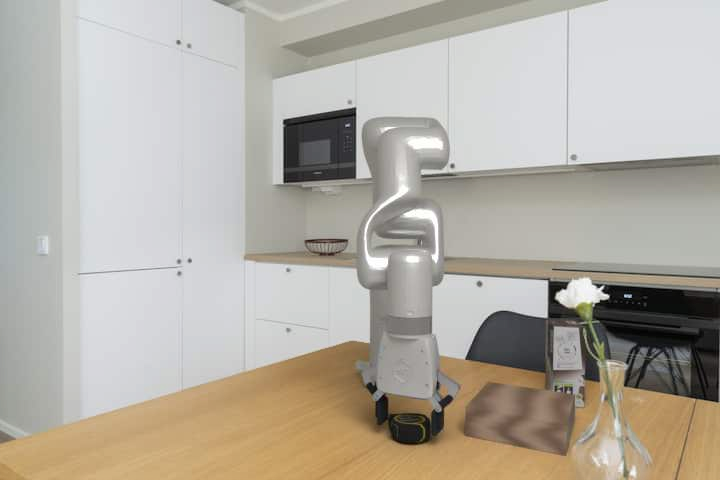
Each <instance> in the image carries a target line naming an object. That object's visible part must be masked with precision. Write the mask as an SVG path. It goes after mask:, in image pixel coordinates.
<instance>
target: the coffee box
mask: <svg viewBox="0 0 720 480" xmlns="http://www.w3.org/2000/svg"><path fill="white" fill-rule="evenodd" d="M578 323H580V321H578V320H577V319H567V318H566V319H563V318H560V319H559V318H558V319H550V318H548V319H545V385H544V386H545V389H544V390H549V391H555V392H562V393H569V394H575V408H585V391H586V388H585V387H586V386H585V385H586V352H587V343H585V339H584V336H583V328H585V330H586V331H587V326H585V325H583V324H582V325H580V324H578Z"/></svg>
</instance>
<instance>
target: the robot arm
mask: <svg viewBox="0 0 720 480" xmlns="http://www.w3.org/2000/svg"><path fill="white" fill-rule="evenodd" d="M361 145H362V151H363V155H364V159H365V161H366V164H367V167H368V170H369V172H370V176H371V182H372V184H371V185H372V189H371V191H372V206H371V207H370V208H369V210H368V211H367V212H366V214H365V215H364V216H363V218H362V219H361V221H360V224H359V226H358V229H357V234H356V277H357V280H358V283H359V284H360V286H361V287H362V288H364V289H366V290H369V361H367V362H366V361H364V360H356V362H355V371H356V372H361V376H362V384H363V385H364V387H366V389H367V391H368V392H369V393H370V394H371V396H372V399H373V401H374V403H375V405H374V408H375V409H374V411H375V412H374V413H375V414H374V416H375V418H376V424H377V425H378V426H382V425H383V424H384V423H385V422H388V418H389V398H388V396H386V395H390V396H391V395H392V396H397V397H403V398H409V399H414V400H421V401H425V400H428V402H429V404H430V405H431V406H432V407H433V410H431V413H430V414H431V415H430V422H431V433H430V436H432V437H437V436H438V435H439V433H440V432H441V431H443V430H444V426H445V408H447V406H448V405H450V404H451V403H452V402H454V401H455V399H456V396H457V395H458V393H459V391H460V390H461V387H462V385H461V384H460V383H458V382H457V381H456V380H454V379H453V378H452V377H450V376H449V375H447V374H445V373H444V372H443V371H442V370H441V361H440V360H441V359H440V352H439V346H438V340H437V337H436V336H437V335H436V334H435V333H433V287H436V286H439V285H441V283H442V282H443V279H444V276H445V241H444V240H445V239H444V216H443V210H442V207H441V204H440V203H439V202H438V201H437V200H436V199H434V198H431V197H424V195H423V184H422V170H426V171H428V170H431V171H433V170H434V171H438V170H439V171H440V170H443V169H444V168H446V167H447V165H448V163H449V160H450V155H451V146H450V140H449V136H448V134H447V132H446V129H445V128H444V126H443V125H442V124H441V122H440V121H439V120H438V119H436V118H434V117H423V116H422V117H421V116H419V117H418V116H416V117H415V116H413V117H412V116H380V117H379V116H378V117H373V118H370V119H368V120H366V121H364V123H363V126H362V128H361ZM374 233H375V235H376V236H377V237H379V238H382V239H390V240H420V241H421V243H422V244H381V245H378V246H375V247H374V246H373V247H372V236H373V234H374ZM441 385H442V386H445V388H447V390H448V392H447V394H446V396H443V395H442V394H441V392H440V391H441Z"/></svg>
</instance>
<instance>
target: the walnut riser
mask: <svg viewBox="0 0 720 480" xmlns="http://www.w3.org/2000/svg"><path fill="white" fill-rule="evenodd" d="M464 421H465V429H464V430H465V431H464V432H465V433H464V435H465V437H469V438H470V437H471V438H476V439H481V440H485V441H490V442H495V443H500V444H505V445H510V446H515V447H519V448H525V449H530V450H536V451H540V452H544V453H551V454H554V455H555V454H556V455H559V456H564V457H566V456H567V453H568V449H569V445H570V441H571V437H572V433H573V429H574V427H575V426H574V425H575V422H576V407H575V394H569V393H562V392H555V391H549V390H545V389H542V388H541V389H540V388H535V387H534V388H533V387H526V386H519V385H515V384H514V385H513V384H507V383H506V384H505V383H501V382H500V383H499V382H492V381H487V383H486V384H484V386H483V387H482V388H481V389H480V390H479V391H478V392H477V393H476V395H475V396H473V398H472V399H471V400H470V401H469V402H468V403H467V404H466V405H465V420H464Z"/></svg>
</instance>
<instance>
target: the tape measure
mask: <svg viewBox="0 0 720 480" xmlns="http://www.w3.org/2000/svg"><path fill="white" fill-rule="evenodd" d="M387 424H388V429H389V431H390V432H391V436H392V437H393V438H394V439H395V440H396V441H399V442H402V443H407V444H416V443H418V444H419V443H422V442H425V441H427V440H428V439H430V437H431V418H429V417H428V416H427V415H426V414H423V413H420V412H419V413H418V412H415V413H413V412H407V413H406V412H405V413H404V412H403V413H390V414H388V420H387Z"/></svg>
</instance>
